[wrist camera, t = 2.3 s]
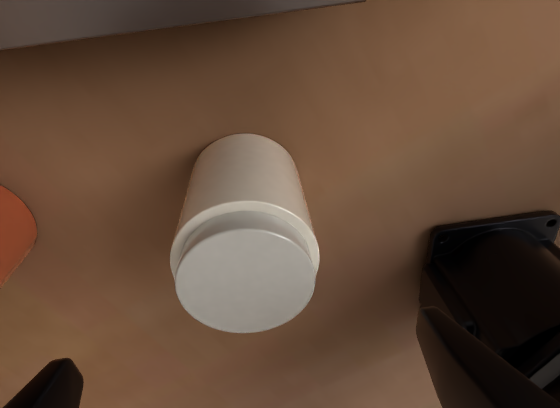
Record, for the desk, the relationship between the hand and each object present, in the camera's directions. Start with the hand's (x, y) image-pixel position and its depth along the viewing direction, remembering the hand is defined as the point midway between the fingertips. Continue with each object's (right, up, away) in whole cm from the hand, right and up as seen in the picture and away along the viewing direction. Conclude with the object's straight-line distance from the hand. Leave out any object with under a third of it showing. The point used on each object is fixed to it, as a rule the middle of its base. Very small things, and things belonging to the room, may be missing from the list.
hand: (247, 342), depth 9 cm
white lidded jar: (-1, +4, +7) cm, 8 cm away
